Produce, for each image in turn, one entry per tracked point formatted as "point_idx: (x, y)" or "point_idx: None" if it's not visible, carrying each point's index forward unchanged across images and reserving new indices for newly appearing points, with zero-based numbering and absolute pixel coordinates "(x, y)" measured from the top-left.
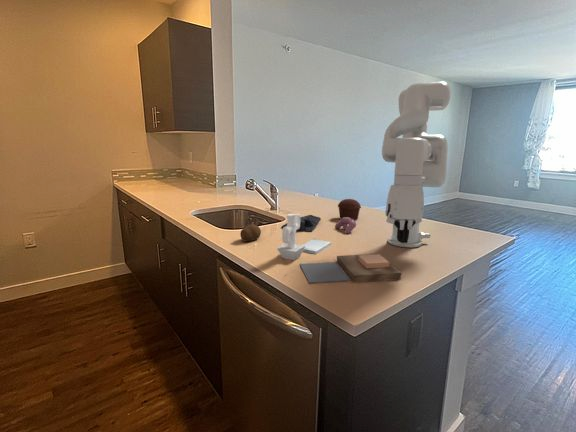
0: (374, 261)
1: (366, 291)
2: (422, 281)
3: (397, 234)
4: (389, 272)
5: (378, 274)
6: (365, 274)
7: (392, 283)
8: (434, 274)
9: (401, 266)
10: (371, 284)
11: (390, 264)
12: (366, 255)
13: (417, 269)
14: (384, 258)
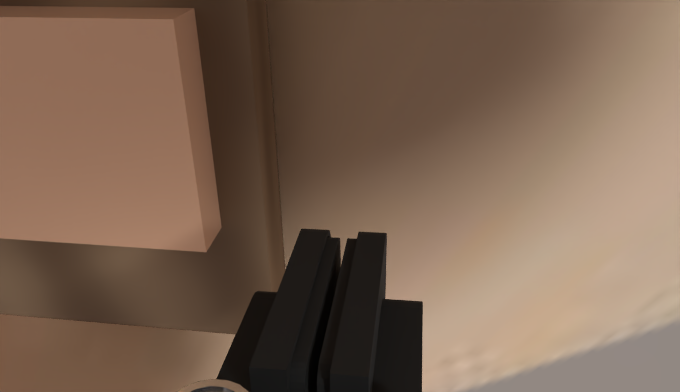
0: (71, 209)
1: (27, 383)
2: (423, 359)
3: (241, 339)
4: (185, 317)
5: (99, 319)
6: (3, 309)
7: (205, 339)
8: (608, 287)
9: (429, 78)
10: (69, 322)
11: (256, 179)
12: (14, 36)
13: (539, 172)
14: (190, 155)
